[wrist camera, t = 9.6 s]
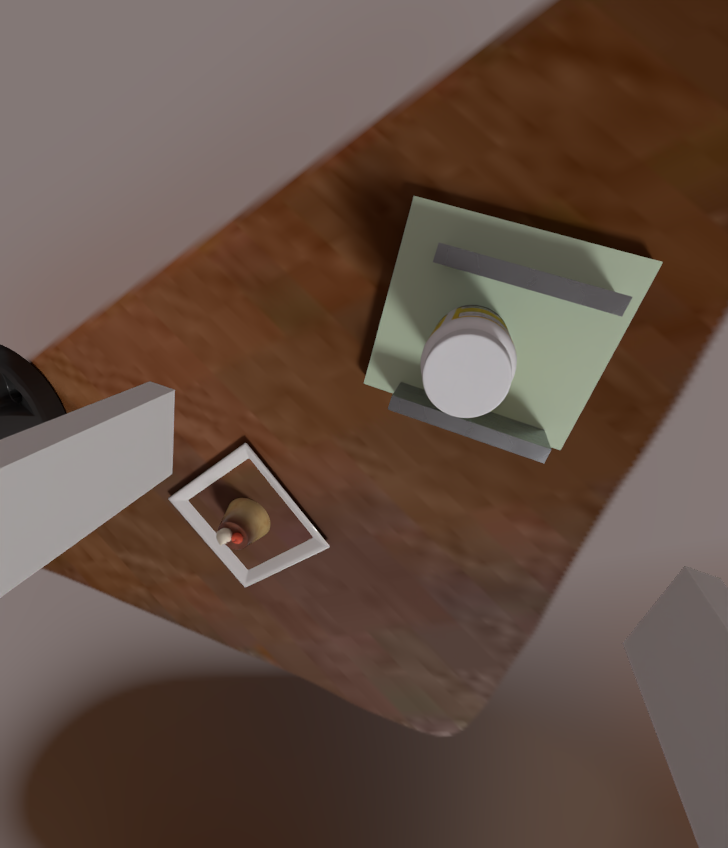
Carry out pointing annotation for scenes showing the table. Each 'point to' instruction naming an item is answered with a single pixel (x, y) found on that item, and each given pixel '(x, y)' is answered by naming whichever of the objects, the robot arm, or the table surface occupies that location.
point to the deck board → (508, 310)
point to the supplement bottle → (468, 362)
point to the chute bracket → (491, 424)
